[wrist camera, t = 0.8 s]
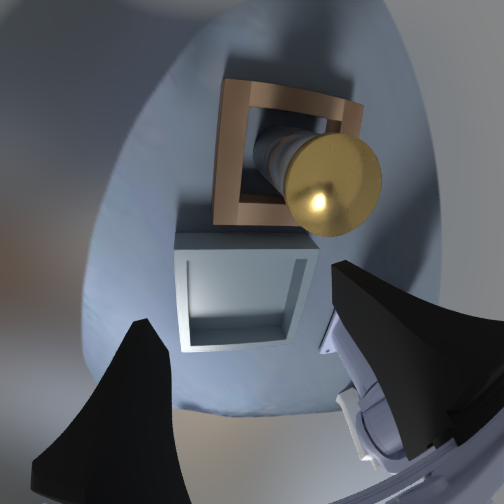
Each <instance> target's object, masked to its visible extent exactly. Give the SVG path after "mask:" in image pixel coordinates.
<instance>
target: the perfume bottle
mask: <svg viewBox="0 0 504 504" xmlns="http://www.w3.org/2000/svg"><path fill="white" fill-rule="evenodd" d="M336 401H337V402H338V403H339V405H340V406H341V408H342V410H343V413H344V416H345V418H346V421H347V424H348V427H349V430H350V432H351V435H352V438H353V440H354V444H355V446H356V449H357V452H358V455H359V458H360V460H371V462H372V465H373V467H374V470H376V469H378V468H380V467H382V466H381V464H380V463H379V462H378V461H377V460H376V459H375V458H374V457H373V456H371V455H370V454H369V453H368V452H367V451H366V449H365V448H364V446H363V445H362V443H361V441H360V439H359V437H358V435H357V432H356V427H355V421H356V415H357V413H358V412H359V411H360V410H361V409H360V407H359V405H358V402H359V401H360V400H359V399H358V395H357V390H355V389H354V388H350V389H348V390H346V391H344V392H342V393H340V394H338V396H337V398H336Z"/></svg>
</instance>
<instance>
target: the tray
mask: <svg viewBox="0 0 504 504" xmlns="http://www.w3.org/2000/svg"><path fill="white" fill-rule="evenodd" d="M319 250H320V249H319V247H318V246H317V245H316V244H315V243H314V241H313V240H312V239H311V238H310V237H309V235H308V234H306V233H175V242H174V266H175V284H176V298H177V311H178V322H179V332H180V342H181V351H182V352H207V351H226V350H241V349H253V348H264V347H274V346H283V345H291V344H293V342H294V339H295V336H296V333H297V329H298V326H299V323H300V319H301V316H302V313H303V309H304V306H305V302H306V299H307V295H308V292H309V288H310V285H311V281H312V277H313V274H314V270H315V266H316V262H317V258H318V254H319Z"/></svg>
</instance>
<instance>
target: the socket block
mask: <svg viewBox="0 0 504 504" xmlns="http://www.w3.org/2000/svg"><path fill="white" fill-rule="evenodd" d="M249 106H250V107H259V108H267V109H275V110H282V111H288V112H294V113H300V114H306V115H311V116H317V117H321V118H326V119H328V121H327V128H326V133H343V134H346V135H350V136H353V137H356V138H358V139H359V133H360V127H361V121H362V115H363V108H364V105H362V104H359V103H355V102H352V101H348V100H345V99H341V98H338V97H334V96H330V95H326V94H322V93H317V92H313V91H308V90H303V89H298V88H293V87H288V86H282V85H276V84H269V83H262V82H255V81H246V80H236V79H224V80H223V81H222V85H221V94H220V103H219V113H218V124H217V135H216V147H215V159H214V173H213V189H212V206H211V215H212V221H213V225H268V226H301V225H300V224H299V223H298V222H297V221H296V220H295V218H294V217H293V216H292V214H291V213H290V212H289V210H288V208H287V205H286V202H285V199H284V197H283V196H282V195H269V194H247V193H240V186H241V176H242V166H243V156H244V147H245V138H246V128H247V119H248V111H249Z"/></svg>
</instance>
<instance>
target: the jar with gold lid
mask: <svg viewBox="0 0 504 504" xmlns="http://www.w3.org/2000/svg"><path fill="white" fill-rule="evenodd" d="M253 159H254V163H255V166H256V168H257V169H258V171H259V172H260V173H261V174H262V175H263V176H264V177H265V178H266V179H267V180H268V181H269V182H270V183H271V184H272V185H273V186H274V187H275V188H276V189H277V190H278V191H279V192H280V194H281V195H282V196H283V197H284V199H285V202H286V205H287V208H288V210H289V212H290V213H291V214H292V216H293V217H294V218H295V220H296V221H297V222H298V223H299V224H300V225H301V226H302V227H303V228H304V229H306V230H307V231H309V232H311V233H313V234H315V235H319V236H324V237H334V236H340V235H343V234H346V233H348V232H350V231H352V230H354V229H355V228H357V227H358V226H359V225H361V224H362V223H363V222H364V221H365V220H366V219H367V218H368V216H369V215H370V214H371V212H372V211H373V209H374V207H375V206H376V203H377V201H378V199H379V195H380V191H381V185H382V174H381V168H380V164H379V161H378V159H377V157H376V155H375V153H374V152H373V151H372V149H371V148H370V147H369V146H368V145H367V144H366V143H365V142H363V141H362V140H360V139H358V138H356V137H353V136H350V135H346V134H343V133H324V134H318V133H315V132H311V131H307V130H303V129H299V128H295V127H291V126H286V125H278V126H274V127H271V128H269V129H267V130H266V131H264V132H263V133H262V134H261V135H260V136H259V137H258V139H257V141H256V143H255V145H254V149H253Z"/></svg>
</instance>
